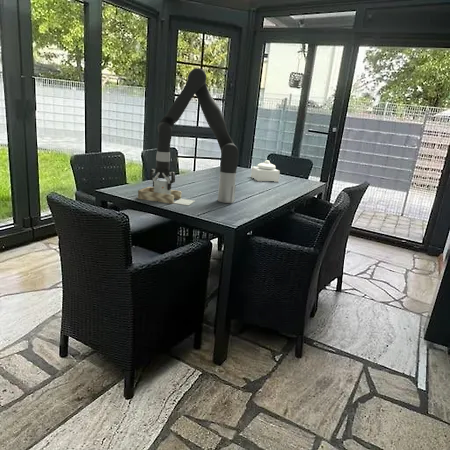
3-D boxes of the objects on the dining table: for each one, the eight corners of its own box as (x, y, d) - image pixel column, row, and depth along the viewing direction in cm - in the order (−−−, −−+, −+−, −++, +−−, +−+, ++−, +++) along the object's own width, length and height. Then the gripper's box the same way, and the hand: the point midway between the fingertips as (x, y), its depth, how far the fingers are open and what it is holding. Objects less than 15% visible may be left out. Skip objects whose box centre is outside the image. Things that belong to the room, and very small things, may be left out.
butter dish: (257, 181, 284) (259, 161, 279) (250, 177, 301) (252, 157, 296) (278, 182, 288) (281, 162, 284) (270, 177, 305) (273, 158, 300)
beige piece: (181, 198, 210) (181, 191, 209) (172, 203, 198) (172, 195, 197) (148, 194, 215) (148, 186, 214) (138, 198, 203) (138, 190, 202)
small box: (164, 197, 211) (164, 179, 208) (170, 199, 208) (171, 181, 205) (153, 199, 205) (153, 180, 202) (159, 201, 202) (160, 182, 199)
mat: (195, 201, 208) (195, 200, 207) (188, 205, 197) (188, 205, 197) (180, 199, 210) (180, 198, 209) (173, 203, 199) (173, 202, 199)
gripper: (177, 160, 202) (176, 189, 207) (154, 157, 205) (153, 185, 210) (172, 162, 195) (170, 192, 200) (148, 158, 198) (147, 188, 203)
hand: (161, 188), depth 205 cm, fingers open, 8 cm apart
